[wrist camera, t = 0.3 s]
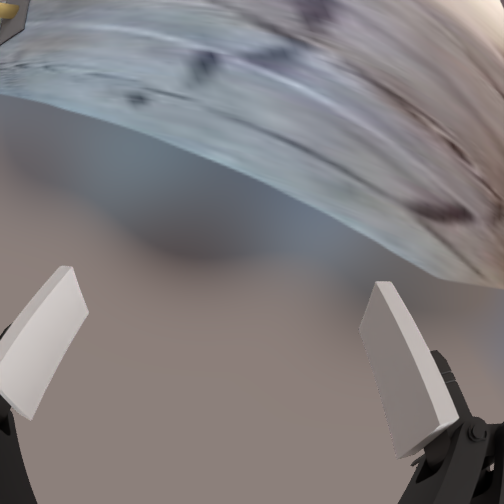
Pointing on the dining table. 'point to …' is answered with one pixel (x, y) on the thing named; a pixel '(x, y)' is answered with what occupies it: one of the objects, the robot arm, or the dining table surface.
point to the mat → (14, 21)
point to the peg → (8, 10)
